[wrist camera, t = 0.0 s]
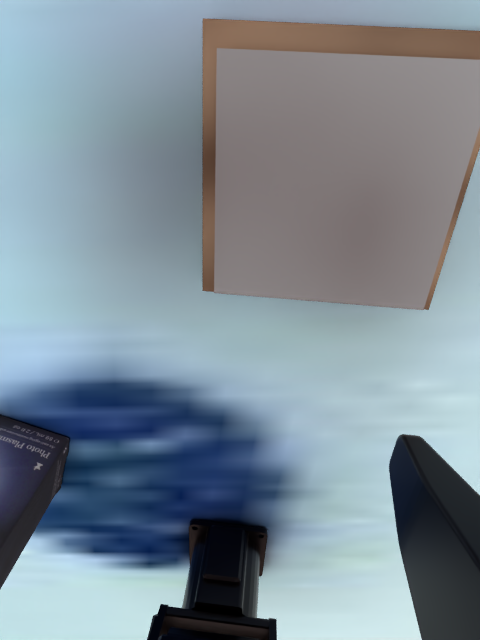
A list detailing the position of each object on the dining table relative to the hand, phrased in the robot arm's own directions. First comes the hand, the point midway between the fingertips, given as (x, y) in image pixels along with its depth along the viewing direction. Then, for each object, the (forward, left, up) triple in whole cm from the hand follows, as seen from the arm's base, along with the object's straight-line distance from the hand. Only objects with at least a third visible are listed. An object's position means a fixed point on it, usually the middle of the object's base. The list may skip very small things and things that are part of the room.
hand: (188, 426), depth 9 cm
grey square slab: (+3, -4, -13) cm, 14 cm away
